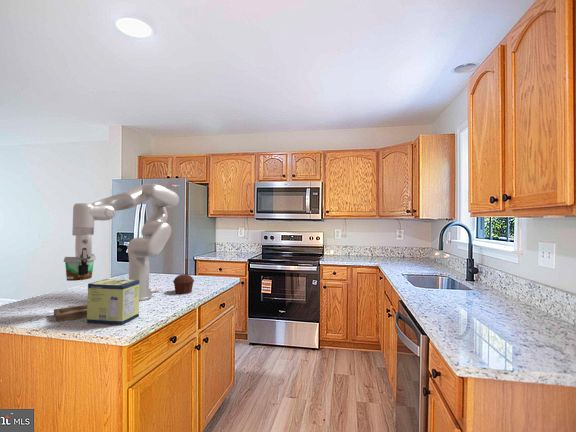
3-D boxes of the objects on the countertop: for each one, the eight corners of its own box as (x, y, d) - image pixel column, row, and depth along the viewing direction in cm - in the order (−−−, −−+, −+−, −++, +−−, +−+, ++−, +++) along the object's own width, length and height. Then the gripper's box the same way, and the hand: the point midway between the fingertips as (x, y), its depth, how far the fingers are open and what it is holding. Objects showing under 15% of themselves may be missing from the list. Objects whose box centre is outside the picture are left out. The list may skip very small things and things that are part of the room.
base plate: (101, 307, 131) (101, 302, 131) (106, 313, 123) (106, 307, 123) (53, 315, 119) (53, 309, 119) (55, 322, 111) (55, 315, 111)
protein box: (105, 314, 121) (106, 278, 122) (139, 316, 120) (140, 279, 120) (85, 323, 111) (86, 283, 111) (122, 325, 109) (123, 285, 110)
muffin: (169, 291, 162) (170, 274, 163) (188, 289, 170) (188, 272, 170) (177, 296, 154) (178, 277, 154) (197, 292, 161) (197, 275, 161)
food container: (73, 282, 115) (74, 257, 115) (62, 281, 116) (63, 256, 117) (102, 276, 126) (102, 254, 126) (92, 275, 128) (92, 253, 128)
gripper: (97, 232, 118) (95, 275, 118) (90, 231, 131) (89, 269, 131) (74, 232, 113) (73, 277, 113) (70, 231, 126) (68, 271, 126)
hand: (81, 273), depth 122 cm, fingers closed on food container, 6 cm apart
